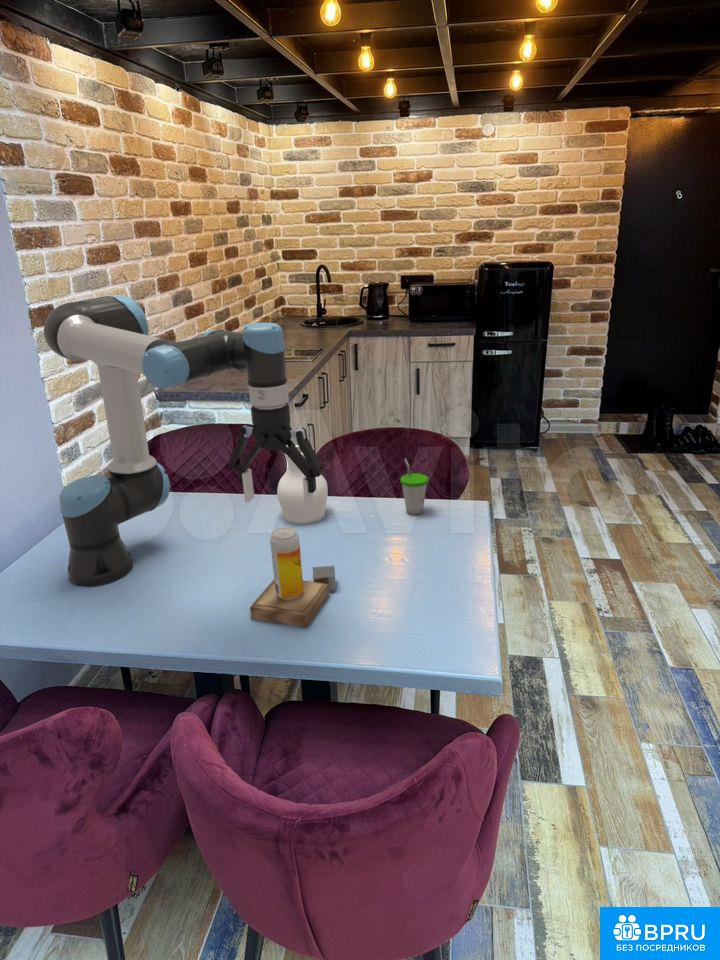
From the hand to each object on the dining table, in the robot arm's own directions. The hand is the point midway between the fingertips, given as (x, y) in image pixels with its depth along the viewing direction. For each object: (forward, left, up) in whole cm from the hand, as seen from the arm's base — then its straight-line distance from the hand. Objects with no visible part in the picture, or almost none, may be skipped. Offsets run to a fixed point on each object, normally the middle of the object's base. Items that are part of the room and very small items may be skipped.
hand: (279, 503), depth 142 cm
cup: (+15, +54, -25) cm, 61 cm away
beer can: (+1, 0, -22) cm, 22 cm away
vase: (-15, +45, -25) cm, 54 cm away
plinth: (+1, 0, -25) cm, 25 cm away
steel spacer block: (+5, +10, -25) cm, 27 cm away
